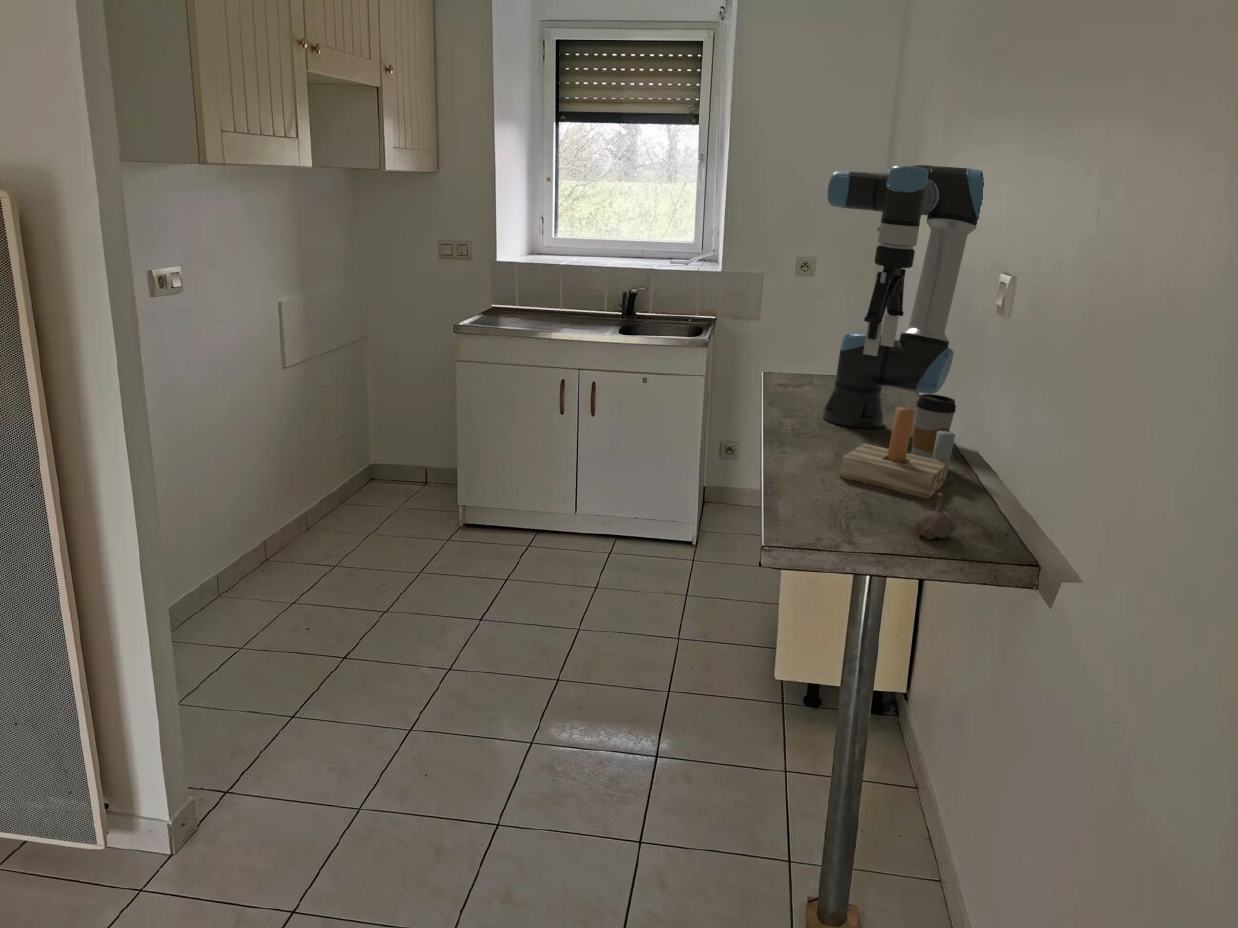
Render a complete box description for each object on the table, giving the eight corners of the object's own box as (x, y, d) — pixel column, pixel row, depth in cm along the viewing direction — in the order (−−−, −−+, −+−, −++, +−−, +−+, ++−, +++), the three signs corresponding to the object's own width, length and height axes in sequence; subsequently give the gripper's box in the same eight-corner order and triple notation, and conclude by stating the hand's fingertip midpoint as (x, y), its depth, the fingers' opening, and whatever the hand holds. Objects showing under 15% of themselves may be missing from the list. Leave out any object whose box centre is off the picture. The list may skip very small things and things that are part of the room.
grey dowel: (930, 475, 204) (939, 429, 202) (947, 479, 203) (956, 433, 200) (926, 478, 201) (935, 432, 199) (943, 482, 200) (953, 436, 197)
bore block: (860, 463, 208) (863, 443, 207) (944, 483, 200) (948, 462, 198) (839, 477, 196) (843, 456, 195) (927, 498, 188) (932, 477, 187)
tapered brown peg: (887, 471, 200) (899, 406, 196) (904, 475, 198) (916, 409, 194) (882, 474, 197) (894, 408, 193) (899, 479, 195) (912, 412, 191)
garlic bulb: (923, 543, 163) (931, 499, 161) (903, 527, 170) (911, 485, 168) (963, 544, 165) (972, 500, 163) (942, 528, 172) (950, 486, 169)
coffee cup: (928, 457, 218) (940, 393, 214) (952, 469, 211) (966, 402, 206) (897, 458, 215) (910, 393, 211) (921, 470, 208) (934, 402, 203)
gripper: (892, 241, 205) (876, 339, 212) (861, 246, 184) (844, 355, 191) (928, 245, 202) (910, 345, 208) (900, 251, 181) (881, 362, 187)
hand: (878, 350), depth 199 cm, fingers open, 13 cm apart
